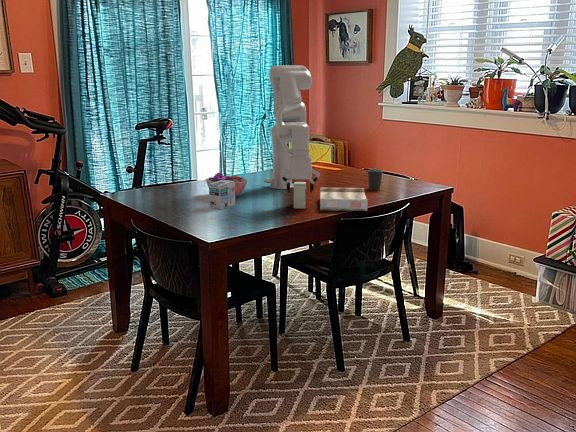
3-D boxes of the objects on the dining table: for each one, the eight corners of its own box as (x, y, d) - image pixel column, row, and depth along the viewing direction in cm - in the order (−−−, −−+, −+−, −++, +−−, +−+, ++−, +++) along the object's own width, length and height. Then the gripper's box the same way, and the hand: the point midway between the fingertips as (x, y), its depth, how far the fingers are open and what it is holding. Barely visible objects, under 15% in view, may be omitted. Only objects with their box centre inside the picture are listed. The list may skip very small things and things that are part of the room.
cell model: (238, 202, 261) (237, 177, 258) (199, 198, 267) (198, 174, 264) (253, 194, 276) (253, 171, 273) (215, 191, 283) (215, 168, 280)
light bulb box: (221, 209, 248) (220, 185, 245) (208, 207, 252) (208, 183, 249) (236, 204, 257) (235, 180, 254) (224, 202, 260) (223, 179, 258)
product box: (293, 208, 251) (293, 185, 248) (294, 203, 259) (294, 181, 256) (305, 208, 251) (306, 185, 248) (306, 203, 258) (306, 182, 256)
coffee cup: (372, 186, 293) (373, 167, 290) (385, 189, 287) (386, 169, 285) (362, 188, 287) (363, 169, 285) (375, 191, 282) (376, 171, 279)
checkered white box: (320, 211, 246) (320, 198, 244) (320, 199, 267) (320, 187, 265) (367, 211, 245) (367, 199, 243) (363, 199, 266) (364, 188, 264)
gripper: (279, 154, 245) (279, 193, 249) (320, 154, 244) (319, 194, 248) (280, 151, 252) (280, 190, 257) (320, 151, 251) (319, 190, 256)
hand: (300, 191), depth 252 cm, fingers open, 9 cm apart
